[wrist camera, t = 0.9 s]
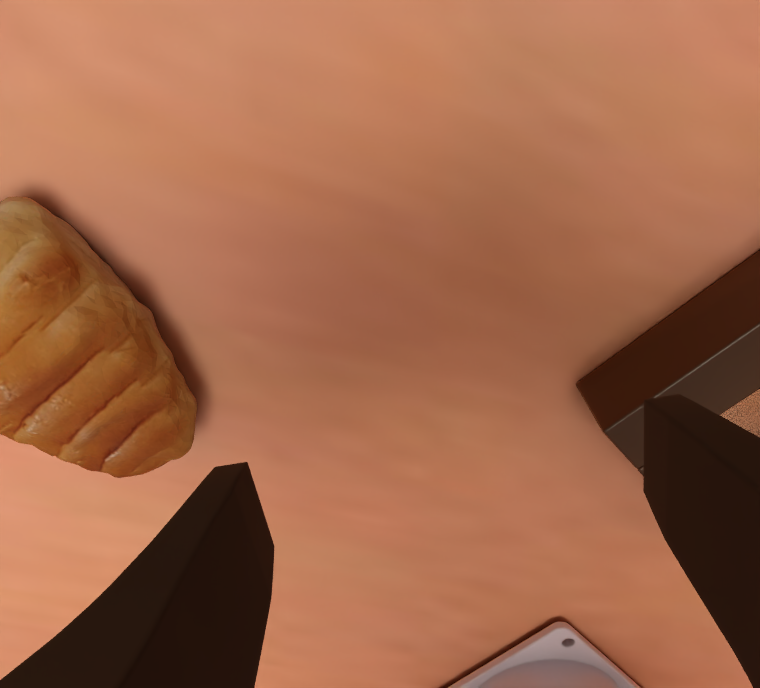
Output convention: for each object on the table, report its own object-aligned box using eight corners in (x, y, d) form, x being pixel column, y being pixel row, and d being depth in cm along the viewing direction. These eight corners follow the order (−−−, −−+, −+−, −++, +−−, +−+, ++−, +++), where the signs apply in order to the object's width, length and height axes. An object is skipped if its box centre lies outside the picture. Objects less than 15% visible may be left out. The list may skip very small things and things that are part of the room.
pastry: (253, 380, 23) (233, 446, 19) (123, 483, 25) (84, 559, 21) (26, 168, 19) (-48, 202, 16) (-105, 306, 21) (-195, 362, 18)
